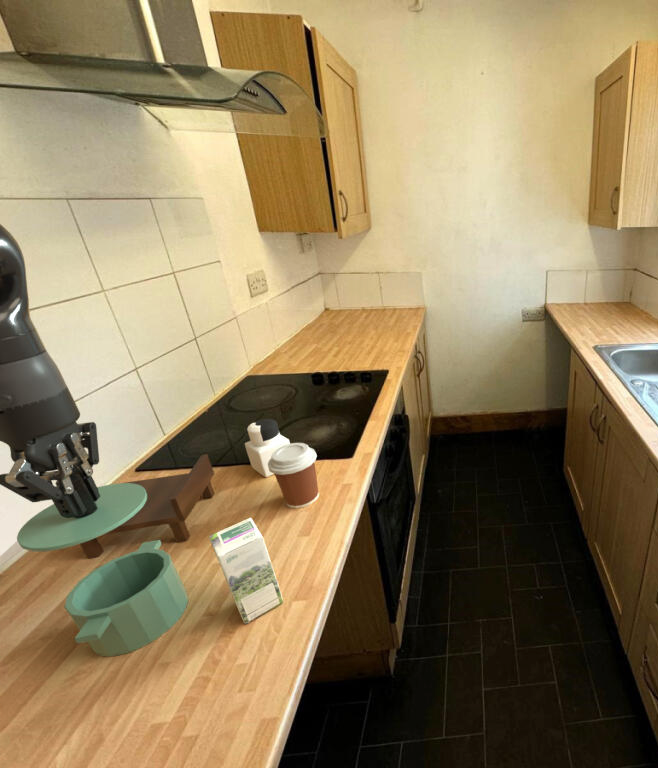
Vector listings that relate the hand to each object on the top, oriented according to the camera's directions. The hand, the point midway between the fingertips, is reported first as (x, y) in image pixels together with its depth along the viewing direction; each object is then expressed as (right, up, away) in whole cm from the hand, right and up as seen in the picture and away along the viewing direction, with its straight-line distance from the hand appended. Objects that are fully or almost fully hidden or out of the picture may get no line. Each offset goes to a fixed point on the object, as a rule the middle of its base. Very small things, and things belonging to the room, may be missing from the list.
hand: (83, 507), depth 56 cm
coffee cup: (+13, -8, +34) cm, 37 cm away
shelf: (-13, -11, +27) cm, 32 cm away
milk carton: (+18, -19, +10) cm, 28 cm away
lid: (0, -1, +1) cm, 1 cm away
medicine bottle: (0, -3, +45) cm, 45 cm away
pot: (+1, -20, +8) cm, 21 cm away
